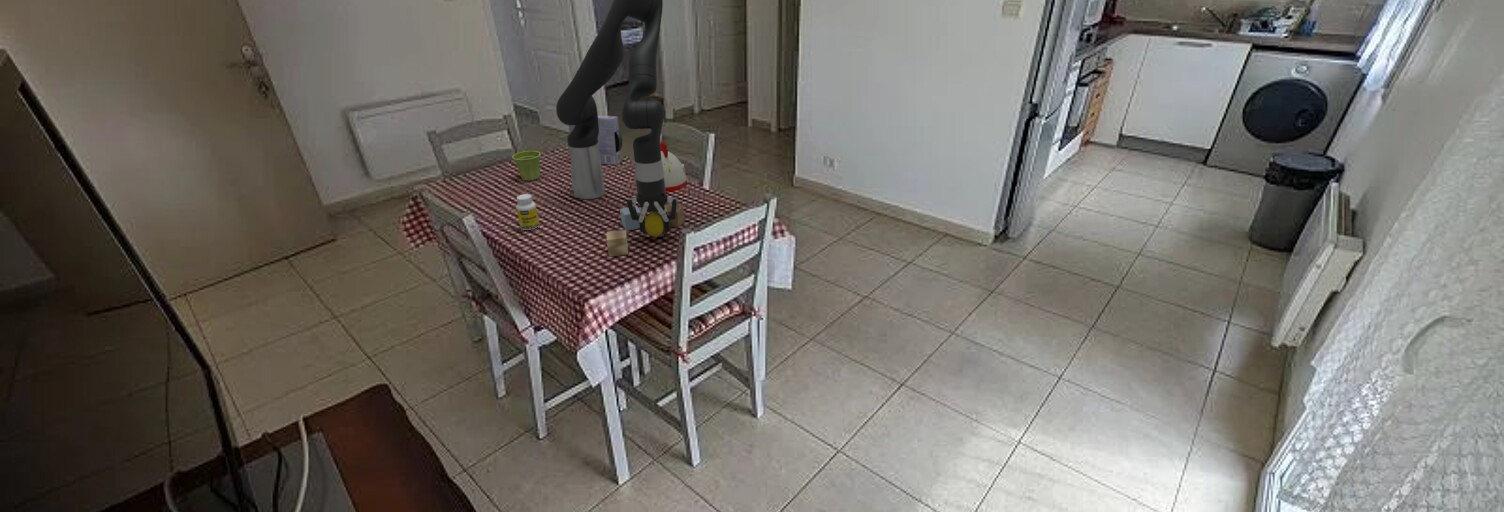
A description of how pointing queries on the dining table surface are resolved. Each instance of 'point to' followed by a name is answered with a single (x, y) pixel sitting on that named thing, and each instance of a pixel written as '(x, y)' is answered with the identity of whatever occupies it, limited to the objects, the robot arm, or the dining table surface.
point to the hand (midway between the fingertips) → (655, 232)
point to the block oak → (617, 243)
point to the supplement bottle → (527, 212)
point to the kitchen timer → (672, 170)
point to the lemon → (654, 224)
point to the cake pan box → (608, 140)
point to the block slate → (629, 219)
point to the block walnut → (678, 218)
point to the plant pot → (528, 164)
